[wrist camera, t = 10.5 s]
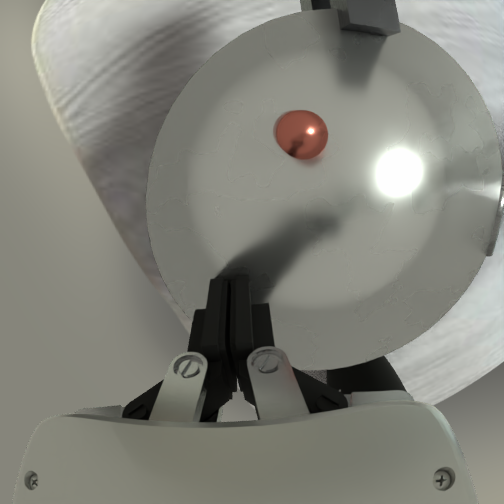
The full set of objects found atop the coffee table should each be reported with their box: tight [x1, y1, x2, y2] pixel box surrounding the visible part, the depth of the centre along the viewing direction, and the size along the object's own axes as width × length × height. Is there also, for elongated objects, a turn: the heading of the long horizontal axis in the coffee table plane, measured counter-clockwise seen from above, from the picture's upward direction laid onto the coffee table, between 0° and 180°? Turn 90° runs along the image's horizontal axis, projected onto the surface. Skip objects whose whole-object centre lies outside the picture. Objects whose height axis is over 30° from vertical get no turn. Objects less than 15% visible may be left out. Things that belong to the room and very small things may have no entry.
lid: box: [146, 0, 504, 371], centre depth 10 cm, size 19×23×2 cm
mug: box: [327, 356, 407, 395], centre depth 29 cm, size 12×9×10 cm
